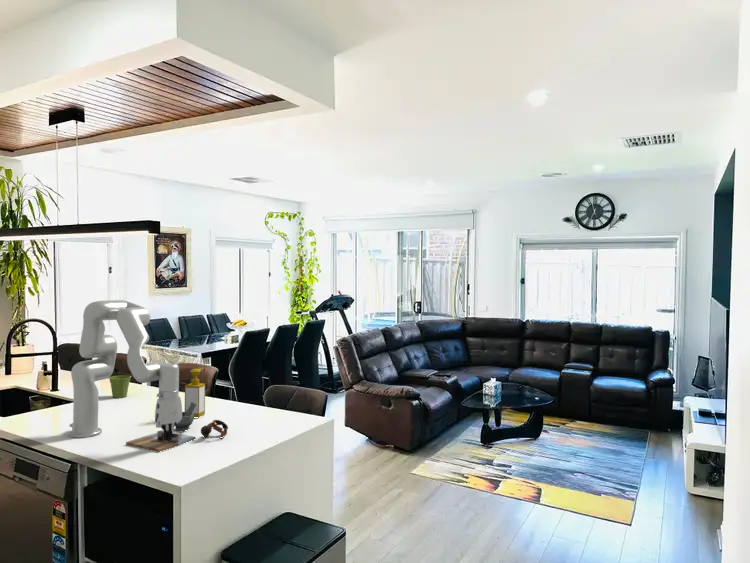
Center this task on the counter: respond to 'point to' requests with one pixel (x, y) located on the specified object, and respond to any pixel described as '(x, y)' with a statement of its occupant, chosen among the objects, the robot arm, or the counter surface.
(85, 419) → the robot arm
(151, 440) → the latch board
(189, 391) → the white and gold bottle
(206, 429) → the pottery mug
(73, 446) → the counter surface
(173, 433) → the bar
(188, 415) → the mortar and pestle
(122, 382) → the plant pot
